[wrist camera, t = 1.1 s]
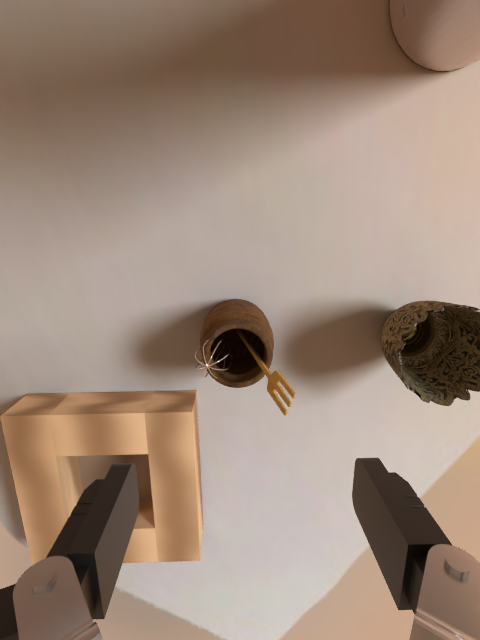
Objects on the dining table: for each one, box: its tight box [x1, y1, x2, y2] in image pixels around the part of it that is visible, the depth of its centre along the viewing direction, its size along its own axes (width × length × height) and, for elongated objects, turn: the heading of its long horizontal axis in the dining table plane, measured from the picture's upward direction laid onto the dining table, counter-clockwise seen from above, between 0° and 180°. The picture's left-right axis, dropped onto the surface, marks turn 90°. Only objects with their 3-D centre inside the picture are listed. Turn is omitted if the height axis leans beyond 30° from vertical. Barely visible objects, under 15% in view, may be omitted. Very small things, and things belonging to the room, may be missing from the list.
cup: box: [381, 301, 480, 406], centre depth 28 cm, size 8×7×8 cm
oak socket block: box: [0, 390, 203, 565], centre depth 33 cm, size 16×16×4 cm
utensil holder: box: [195, 299, 296, 415], centre depth 25 cm, size 6×6×12 cm
